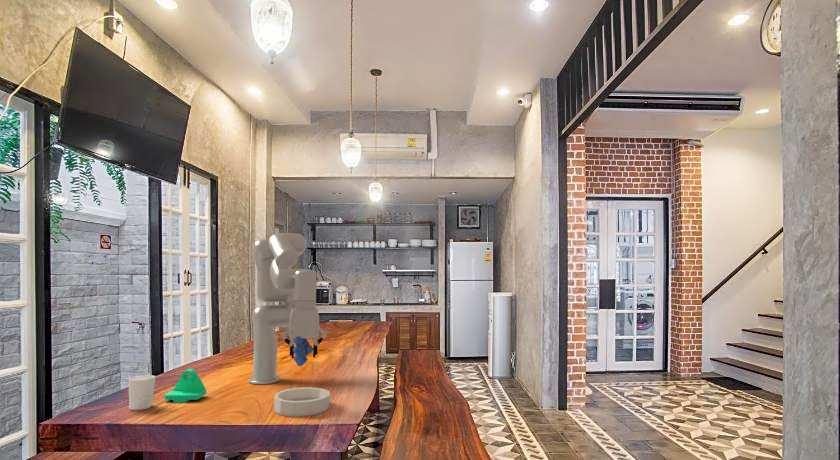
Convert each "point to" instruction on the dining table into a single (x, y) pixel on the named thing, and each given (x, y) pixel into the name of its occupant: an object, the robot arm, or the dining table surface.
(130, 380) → the white cup
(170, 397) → the camera mount
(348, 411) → the dining table surface
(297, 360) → the blue gear
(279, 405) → the fruit bowl
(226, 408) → the dining table surface
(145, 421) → the dining table surface
